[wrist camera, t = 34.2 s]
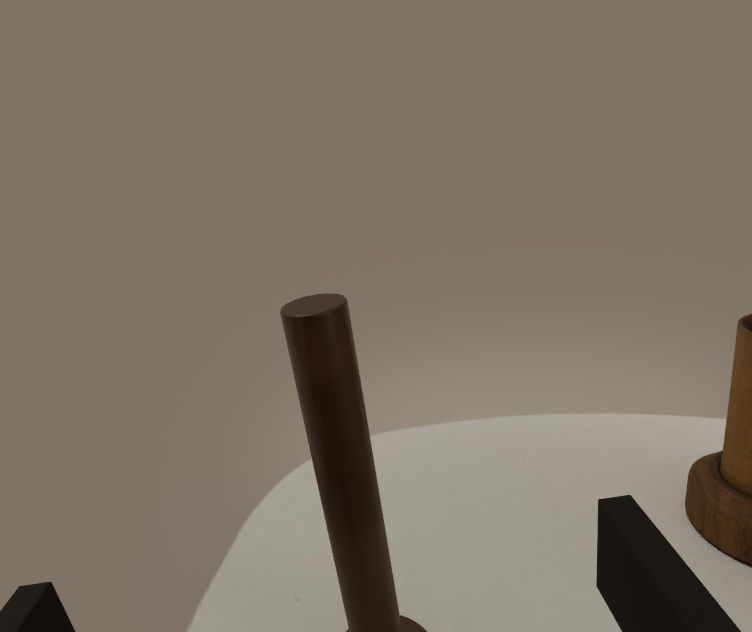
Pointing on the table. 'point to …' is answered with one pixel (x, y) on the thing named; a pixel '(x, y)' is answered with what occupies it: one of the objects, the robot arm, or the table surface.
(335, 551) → the stick
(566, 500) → the table surface
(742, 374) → the mortar and pestle
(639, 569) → the robot arm
